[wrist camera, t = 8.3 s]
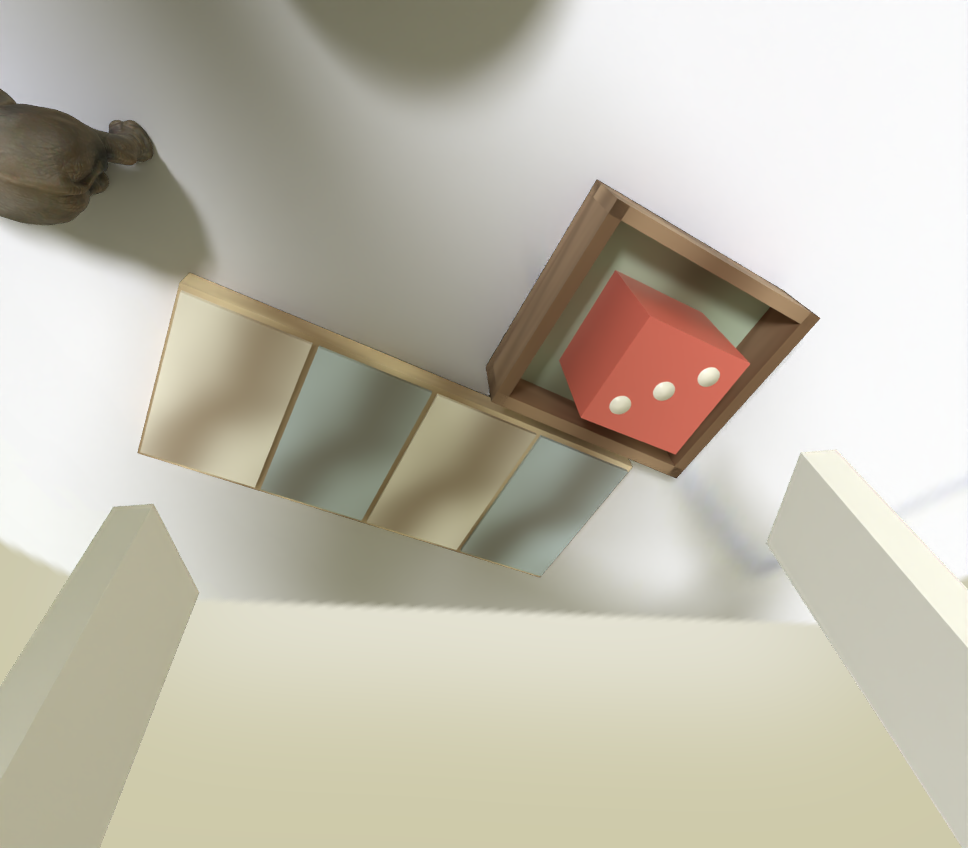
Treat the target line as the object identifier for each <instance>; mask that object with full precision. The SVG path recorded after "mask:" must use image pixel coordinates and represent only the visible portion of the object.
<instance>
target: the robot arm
mask: <svg viewBox="0 0 968 848" xmlns="http://www.w3.org/2000/svg"><path fill="white" fill-rule="evenodd" d="M766 544H767V545H768V547H769V548H770V550H771V552H772V553H773V555H774V556H775V558H776V559H777V561H778V562H779V564H780V566H781V567H782V569H783V570H784V572H785V573H786V575H787V576H788V578H789V580H790V581H791V583H792V584H793V586H794V587H795V589H796V590H797V592H798V594H799V595H800V597H801V598H802V600H803V601H804V603H805V604H806V606H807V608H808V609H809V611H810V612H811V614H812V615H813V617H814V618H815V620H816V622H817V623H818V625H819V626H820V628H821V629H822V631H823V632H824V634H825V636H826V637H827V639H828V640H829V642H830V643H831V645H832V646H833V648H834V649H835V651H836V652H837V654H838V656H839V657H840V659H841V660H842V662H843V663H844V665H845V667H846V668H847V670H848V671H849V673H850V674H851V676H852V677H853V679H854V680H855V682H856V684H857V685H858V687H859V688H860V690H861V691H862V693H863V695H864V696H865V698H866V699H867V701H868V702H869V704H870V705H871V707H872V709H873V710H874V711H875V713H876V715H877V716H878V718H879V719H880V721H881V723H882V724H883V726H884V727H885V729H886V730H887V732H888V733H889V735H890V737H891V738H892V740H893V741H894V743H895V744H896V746H897V747H898V749H899V751H900V752H901V754H902V755H903V757H904V758H905V760H906V761H907V763H908V764H909V766H910V768H911V769H912V771H913V772H914V774H915V775H916V777H917V779H918V780H919V782H920V783H921V785H922V786H923V788H924V789H925V791H926V793H927V794H928V796H929V797H930V799H931V800H932V802H933V803H934V805H935V807H936V808H937V810H938V811H939V813H940V814H941V816H942V817H943V819H944V820H945V822H946V824H947V825H948V827H949V828H950V830H951V831H952V833H953V835H954V836H955V838H956V839H957V841H958V842H959V843H960V845H961V847H962V848H968V589H967V588H966V587H965V586H964V585H963V584H962V582H961V581H960V580H959V579H958V578H957V577H956V576H955V575H954V574H953V573H952V572H951V571H950V570H949V569H948V568H947V567H946V565H945V564H944V563H943V562H942V561H941V560H940V559H939V558H938V557H937V556H936V555H935V554H934V553H933V552H932V551H931V550H930V549H929V547H928V546H927V545H926V544H925V543H924V542H923V541H922V540H921V539H920V538H919V537H918V536H917V535H916V534H915V533H914V532H913V530H912V529H911V528H910V527H909V526H908V525H907V524H906V523H905V522H904V521H903V520H902V519H901V518H900V517H899V516H898V515H897V513H896V512H895V511H894V510H893V509H892V508H891V507H890V506H889V505H888V504H887V503H886V502H885V501H884V500H883V499H882V498H881V496H880V495H879V494H878V493H877V492H876V491H875V490H874V489H873V488H872V487H871V486H870V485H869V484H868V483H867V482H866V481H865V479H864V478H863V477H862V476H861V475H860V474H859V473H858V472H857V471H856V470H855V469H854V468H853V467H852V466H851V465H850V464H849V463H848V461H847V460H846V459H845V458H844V457H843V456H842V455H841V454H840V453H839V452H838V451H837V450H825V451H812V452H801V453H800V456H799V458H798V461H797V464H796V466H795V469H794V472H793V474H792V477H791V479H790V482H789V485H788V487H787V490H786V493H785V495H784V498H783V501H782V503H781V506H780V508H779V511H778V514H777V516H776V519H775V522H774V524H773V527H772V530H771V532H770V535H769V537H768V540H767V543H766ZM198 595H199V592H198V590H197V588H196V586H195V584H194V582H193V580H192V578H191V576H190V574H189V572H188V570H187V568H186V566H185V564H184V562H183V560H182V558H181V556H180V555H179V553H178V551H177V549H176V547H175V545H174V543H173V541H172V539H171V537H170V535H169V533H168V531H167V529H166V527H165V525H164V523H163V521H162V519H161V518H160V516H159V514H158V512H157V510H156V508H155V506H154V504H145V505H132V506H119V507H113V508H112V510H111V512H110V513H109V515H108V516H107V518H106V519H105V521H104V523H103V524H102V526H101V527H100V529H99V531H98V532H97V534H96V535H95V537H94V538H93V540H92V542H91V543H90V545H89V546H88V548H87V550H86V551H85V553H84V554H83V556H82V557H81V559H80V561H79V562H78V564H77V565H76V567H75V569H74V570H73V572H72V573H71V575H70V576H69V578H68V580H67V581H66V583H65V585H64V586H63V588H62V589H61V591H60V592H59V594H58V596H57V597H56V599H55V600H54V602H53V603H52V605H51V607H50V608H49V610H48V612H47V613H46V615H45V616H44V618H43V619H42V621H41V622H40V624H39V626H38V627H37V629H36V630H35V632H34V634H33V635H32V637H31V638H30V640H29V642H28V643H27V645H26V646H25V648H24V650H23V651H22V653H21V654H20V656H19V657H18V659H17V660H16V662H15V664H14V665H13V667H12V669H11V670H10V672H9V673H8V675H7V676H6V678H5V679H4V681H3V683H2V684H1V686H0V848H100V846H101V843H102V841H103V838H104V836H105V833H106V830H107V828H108V825H109V823H110V820H111V818H112V815H113V813H114V810H115V807H116V805H117V802H118V800H119V797H120V795H121V792H122V790H123V787H124V784H125V782H126V779H127V777H128V774H129V772H130V769H131V766H132V764H133V761H134V759H135V756H136V754H137V751H138V748H139V746H140V743H141V741H142V738H143V736H144V733H145V730H146V728H147V725H148V723H149V720H150V718H151V715H152V712H153V710H154V707H155V705H156V702H157V700H158V697H159V694H160V692H161V689H162V687H163V684H164V682H165V679H166V677H167V674H168V671H169V669H170V666H171V664H172V661H173V659H174V656H175V654H176V651H177V648H178V646H179V643H180V641H181V638H182V635H183V633H184V630H185V628H186V625H187V623H188V620H189V617H190V615H191V612H192V610H193V607H194V605H195V602H196V600H197V597H198Z"/></svg>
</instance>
